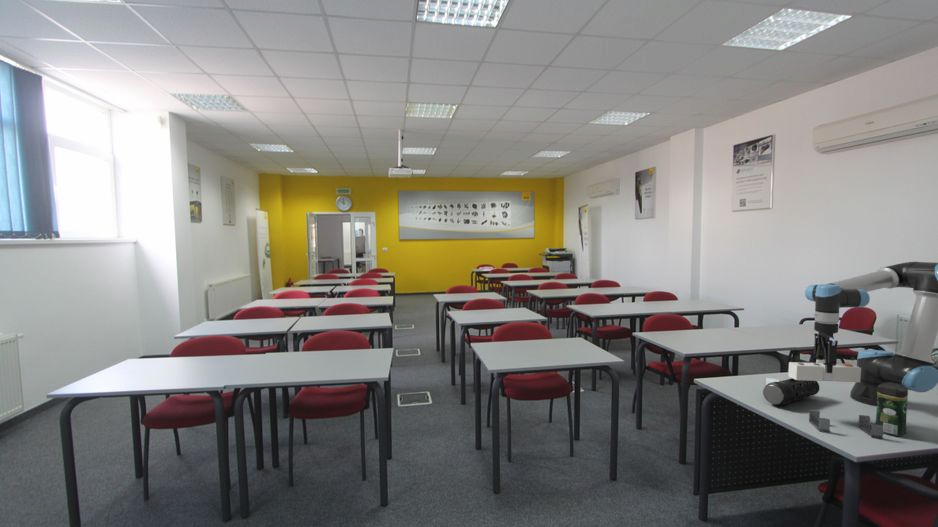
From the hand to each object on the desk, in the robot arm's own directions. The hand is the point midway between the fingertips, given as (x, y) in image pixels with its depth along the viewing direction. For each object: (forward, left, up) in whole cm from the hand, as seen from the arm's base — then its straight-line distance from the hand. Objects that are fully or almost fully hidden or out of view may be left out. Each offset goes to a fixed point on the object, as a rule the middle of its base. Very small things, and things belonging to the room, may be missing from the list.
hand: (823, 377), depth 173 cm
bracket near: (-10, +13, -16) cm, 23 cm away
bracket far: (+6, +13, -16) cm, 22 cm away
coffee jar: (-18, +9, -16) cm, 26 cm away
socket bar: (0, 0, -1) cm, 1 cm away
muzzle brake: (+6, -14, -17) cm, 23 cm away
